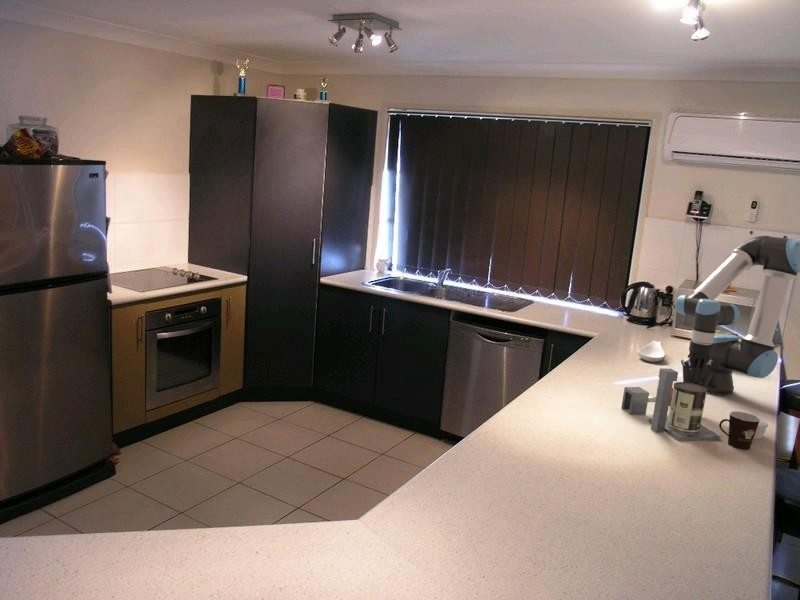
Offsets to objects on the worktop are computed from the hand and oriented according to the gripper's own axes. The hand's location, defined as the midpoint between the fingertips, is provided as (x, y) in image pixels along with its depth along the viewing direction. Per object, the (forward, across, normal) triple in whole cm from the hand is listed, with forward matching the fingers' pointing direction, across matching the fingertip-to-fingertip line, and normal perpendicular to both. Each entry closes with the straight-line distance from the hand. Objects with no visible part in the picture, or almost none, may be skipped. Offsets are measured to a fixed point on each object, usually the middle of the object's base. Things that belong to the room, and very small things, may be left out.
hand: (690, 404), depth 242 cm
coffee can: (+2, +15, +17) cm, 23 cm away
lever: (+2, +14, 0) cm, 14 cm away
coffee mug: (+3, +5, +29) cm, 30 cm away
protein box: (+3, -57, -58) cm, 81 cm away
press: (+3, +17, +11) cm, 20 cm away
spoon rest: (+3, -31, -67) cm, 74 cm away
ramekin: (+3, -7, +21) cm, 22 cm away
